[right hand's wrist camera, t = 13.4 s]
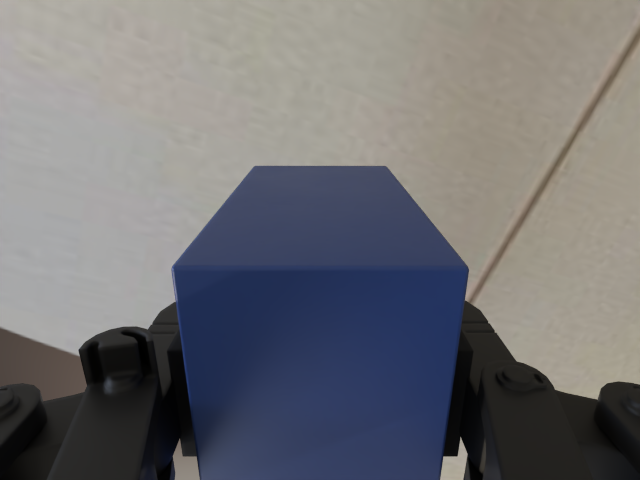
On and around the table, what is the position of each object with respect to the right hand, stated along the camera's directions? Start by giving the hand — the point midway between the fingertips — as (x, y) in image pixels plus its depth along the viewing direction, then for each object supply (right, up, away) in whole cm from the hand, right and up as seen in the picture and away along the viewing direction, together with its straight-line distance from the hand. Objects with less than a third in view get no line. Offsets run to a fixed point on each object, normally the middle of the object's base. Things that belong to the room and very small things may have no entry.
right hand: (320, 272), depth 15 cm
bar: (0, -9, +4) cm, 10 cm away
